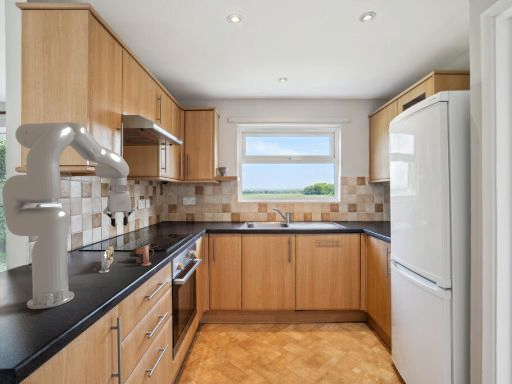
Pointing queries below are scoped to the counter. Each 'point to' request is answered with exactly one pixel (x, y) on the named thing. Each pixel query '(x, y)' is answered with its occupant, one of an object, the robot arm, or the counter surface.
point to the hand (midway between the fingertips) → (119, 225)
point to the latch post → (145, 256)
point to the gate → (110, 256)
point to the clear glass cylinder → (104, 262)
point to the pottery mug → (140, 254)
